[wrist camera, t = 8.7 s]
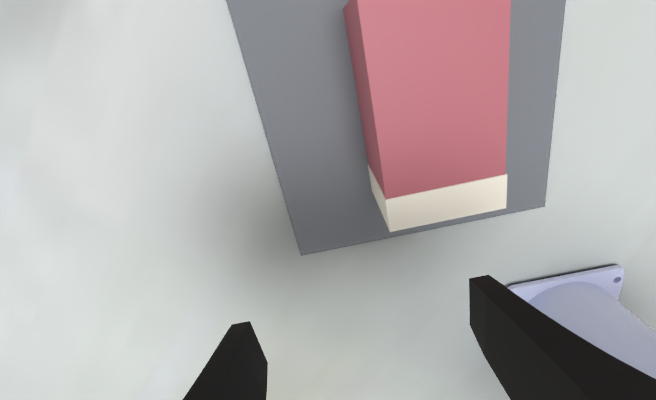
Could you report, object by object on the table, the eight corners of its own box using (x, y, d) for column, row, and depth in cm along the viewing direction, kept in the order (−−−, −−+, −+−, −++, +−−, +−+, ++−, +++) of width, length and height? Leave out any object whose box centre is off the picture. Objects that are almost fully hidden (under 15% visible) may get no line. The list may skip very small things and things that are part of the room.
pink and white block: (454, -18, 14) (514, -46, 10) (461, 171, 18) (506, 208, 14) (341, 8, 14) (354, -8, 10) (371, 190, 18) (389, 232, 14)
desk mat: (539, 202, 20) (544, 206, 19) (301, 250, 20) (301, 255, 20) (571, -147, 13) (581, -154, 12) (211, -59, 14) (208, -62, 13)
